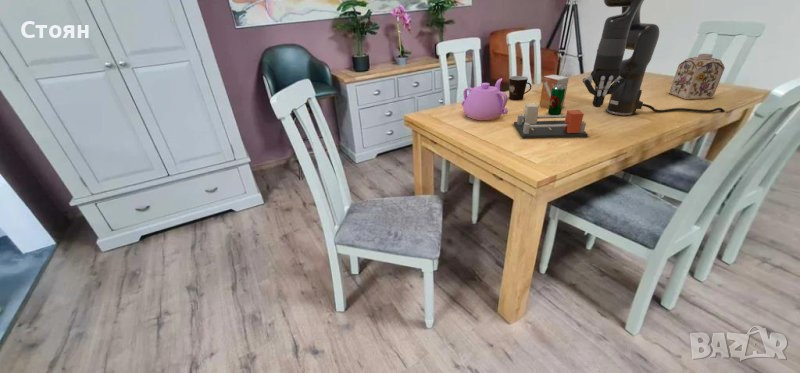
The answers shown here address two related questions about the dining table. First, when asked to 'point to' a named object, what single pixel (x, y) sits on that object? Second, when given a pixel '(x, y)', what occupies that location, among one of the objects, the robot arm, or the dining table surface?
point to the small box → (547, 88)
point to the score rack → (546, 128)
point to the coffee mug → (517, 87)
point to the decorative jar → (697, 77)
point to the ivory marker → (531, 113)
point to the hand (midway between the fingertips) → (597, 106)
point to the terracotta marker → (573, 121)
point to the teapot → (485, 102)
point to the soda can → (556, 99)
